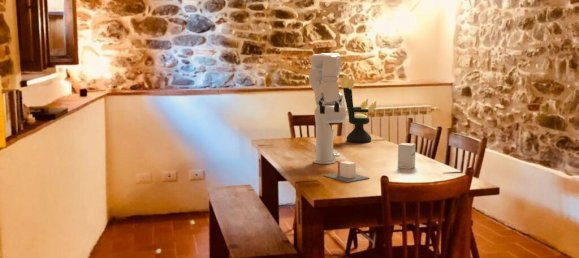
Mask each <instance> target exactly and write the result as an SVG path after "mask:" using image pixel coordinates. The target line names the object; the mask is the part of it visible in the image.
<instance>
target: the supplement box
mask: <svg viewBox="0 0 579 258" xmlns="http://www.w3.org/2000/svg"><path fill="white" fill-rule="evenodd" d="M397 145H398V146H397V149H398V150H397V168H398V169H406V170H407V169H408V170H411V169H412V168H415V167H416V147H417V146H416V143H412V142H411V143H410V142H409V143H408V142H402V143H399V144H397Z"/></svg>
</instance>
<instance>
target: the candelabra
mask: <svg viewBox="0 0 579 258" xmlns="http://www.w3.org/2000/svg"><path fill="white" fill-rule="evenodd" d="M354 84H355V80H354V78H353V76H350V78H349V76H348V75H347V74H346V75H345V74H343V78H341V81H340V86H341V88H343V89H342V90H343V98H344V102H345V106H346V111H347V114H348V122H349V124H350V125H354V129H353V130H352V131H350V132H349V133H348V134H347V136H346V138H345V139H346V141H347V142H350V143H361V144H362V143H369V142H371V141H372V137H371V135H370V134H369V132H368V131H366V129H364V125H367V124H369V122H370V118H369V117H368V116H367V115H366V114H364V113H375V112H374V110H375V109H376V108H377V101H376V100H375V101H374V103H373V102H372V103H371V104H370V105H369V102H368V101H369V99H368V98H367V99H365V100H364V101H363V102H362V103H361V104H360V106H354V100H353V90H352V89H354V88H356V86H355V85H354ZM368 105H369V107H368V108H367V109H366V107H367V106H368Z"/></svg>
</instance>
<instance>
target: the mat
mask: <svg viewBox="0 0 579 258" xmlns="http://www.w3.org/2000/svg"><path fill="white" fill-rule="evenodd" d="M323 177H325V178H329V179H333V180H337V181H341V182H343V183H348V184H349V183H355V182H360V181H364V180H369V179H370V177H369V176H364V175H361V174H357V173H356V177H353V178H346V177H342V176H338V172H334V173H329V174H324V175H323ZM359 180H360V181H359ZM354 181H355V182H354Z"/></svg>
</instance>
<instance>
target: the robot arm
mask: <svg viewBox="0 0 579 258" xmlns="http://www.w3.org/2000/svg"><path fill="white" fill-rule="evenodd" d="M310 66H311V68H310V69H309V71H308V81H309V84H310V86H311V89H312V90H313V92H314V100H315V105H316V107H315V109H314V112H313V113H314V120H315V158H314V159H313V160H312V162H313V163H314V164H321V165H329V164H330V165H331V164H335V163H337V160H336V159H335V158H340V157H341V155H340V153H334V130H333V128H332V127H331V125H330V124H332V123H333V124H335V123H344V122H346V119H347V107H346V102H345V97H344V94H342V93H341V92H340V90H339V89H340V87H339V83H338V80H339V79H340V73H341V67H342V59H341V56H340V54H339V53H336V52H326V53H325V52H321V53H315V54H312V55H311V57H310Z"/></svg>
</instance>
